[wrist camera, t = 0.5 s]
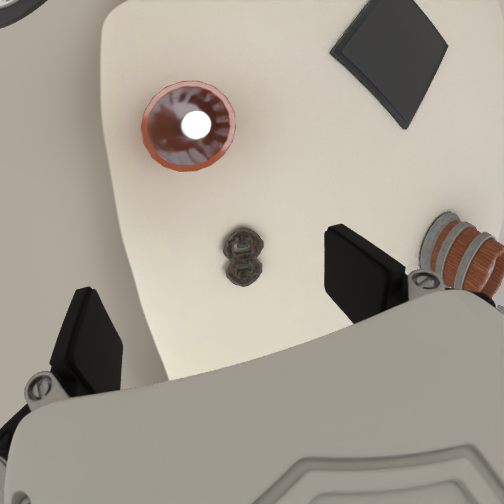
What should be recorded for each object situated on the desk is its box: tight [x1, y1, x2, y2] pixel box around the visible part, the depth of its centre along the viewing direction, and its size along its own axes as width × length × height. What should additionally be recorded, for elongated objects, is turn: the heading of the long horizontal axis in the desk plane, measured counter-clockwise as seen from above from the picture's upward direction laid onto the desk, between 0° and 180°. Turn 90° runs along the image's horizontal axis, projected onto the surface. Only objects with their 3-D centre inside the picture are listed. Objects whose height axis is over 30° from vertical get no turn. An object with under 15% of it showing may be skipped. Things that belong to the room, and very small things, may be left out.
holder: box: [141, 81, 236, 172], centre depth 24 cm, size 8×8×8 cm
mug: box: [420, 212, 504, 298], centre depth 42 cm, size 14×19×15 cm
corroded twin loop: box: [223, 228, 264, 287], centre depth 35 cm, size 5×8×1 cm, turn 1°
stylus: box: [176, 110, 212, 140], centre depth 21 cm, size 2×2×14 cm
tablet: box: [330, 0, 448, 129], centre depth 28 cm, size 16×22×1 cm
